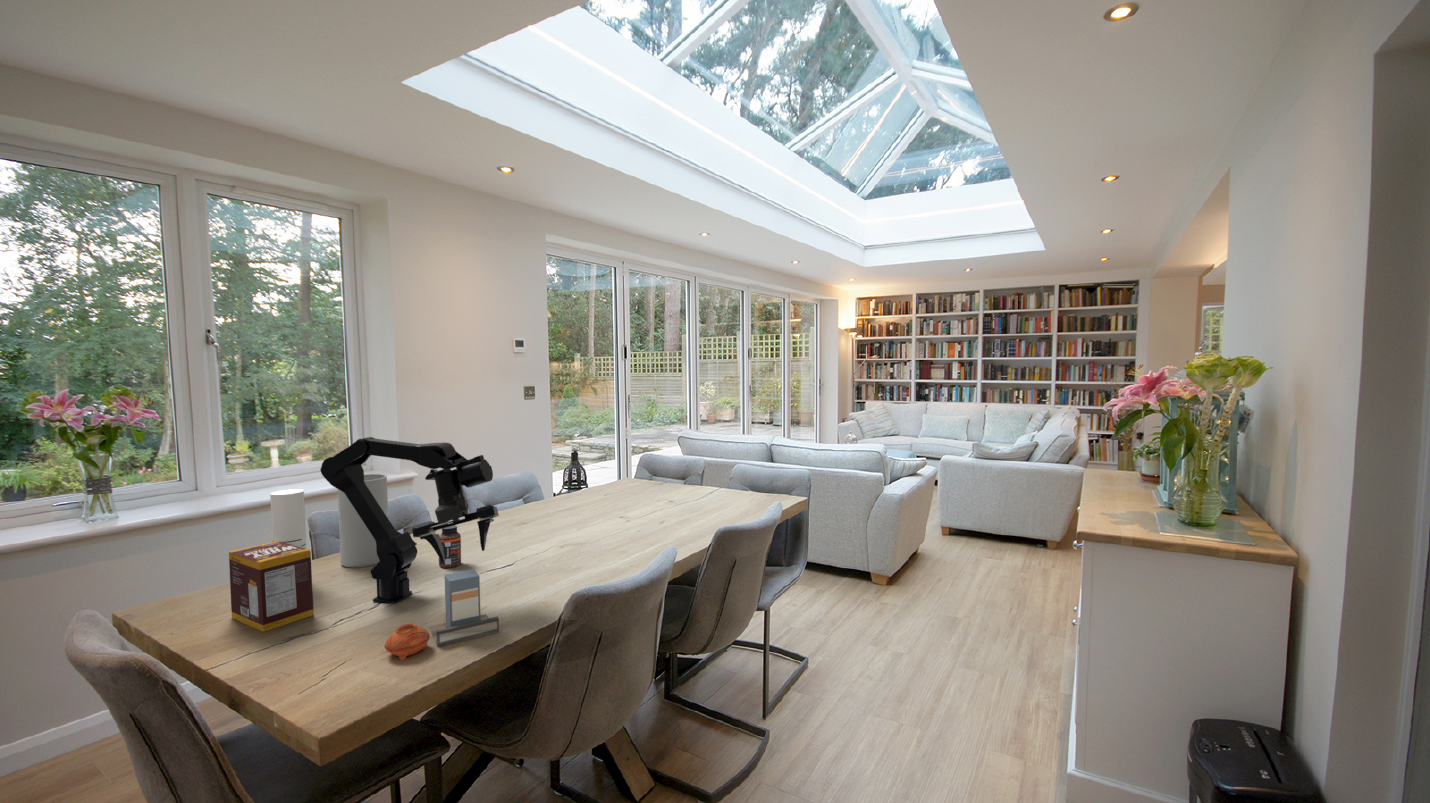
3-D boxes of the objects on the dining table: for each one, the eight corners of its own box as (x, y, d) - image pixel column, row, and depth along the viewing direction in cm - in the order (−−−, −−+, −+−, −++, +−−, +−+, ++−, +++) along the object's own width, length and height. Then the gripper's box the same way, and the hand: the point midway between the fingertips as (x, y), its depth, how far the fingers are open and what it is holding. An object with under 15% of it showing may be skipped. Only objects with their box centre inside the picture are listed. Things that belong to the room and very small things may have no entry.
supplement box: (281, 602, 146) (278, 539, 146) (314, 615, 139) (311, 549, 138) (230, 617, 137) (227, 551, 137) (262, 632, 130) (259, 561, 129)
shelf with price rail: (428, 631, 130) (428, 613, 130) (486, 618, 137) (485, 601, 136) (438, 651, 121) (437, 632, 120) (499, 636, 127) (498, 618, 127)
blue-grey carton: (446, 629, 129) (444, 574, 128) (475, 622, 132) (474, 569, 131) (450, 638, 124) (449, 581, 124) (481, 631, 128) (479, 575, 127)
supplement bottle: (452, 569, 170) (451, 529, 170) (434, 567, 172) (433, 528, 171) (465, 562, 176) (464, 524, 176) (447, 561, 177) (446, 523, 177)
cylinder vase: (374, 568, 171) (371, 481, 170) (330, 568, 171) (327, 481, 170) (397, 554, 184) (395, 474, 182) (357, 554, 184) (354, 474, 182)
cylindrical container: (268, 588, 155) (263, 493, 154) (296, 579, 162) (292, 488, 161) (286, 592, 153) (282, 495, 151) (314, 583, 159) (310, 490, 158)
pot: (428, 662, 116) (418, 630, 115) (386, 675, 114) (375, 643, 113) (438, 642, 124) (428, 612, 123) (398, 654, 122) (388, 624, 121)
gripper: (398, 501, 137) (411, 569, 134) (483, 479, 141) (497, 545, 138) (414, 504, 147) (426, 567, 145) (492, 484, 151) (505, 544, 149)
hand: (463, 556), depth 144 cm, fingers open, 9 cm apart
